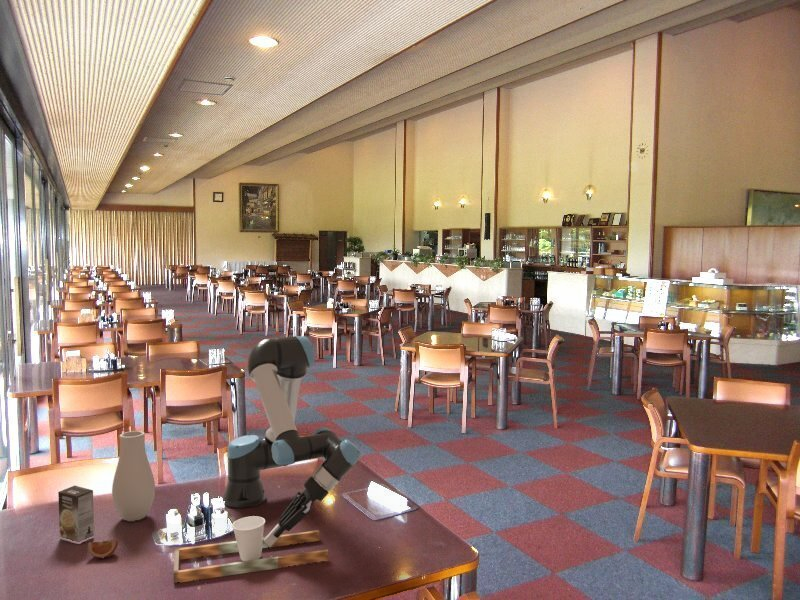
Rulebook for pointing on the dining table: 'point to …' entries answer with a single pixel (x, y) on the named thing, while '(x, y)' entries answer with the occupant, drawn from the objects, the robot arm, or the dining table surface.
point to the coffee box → (76, 513)
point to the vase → (133, 478)
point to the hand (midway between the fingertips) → (267, 543)
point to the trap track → (245, 565)
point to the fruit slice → (102, 548)
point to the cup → (249, 537)
